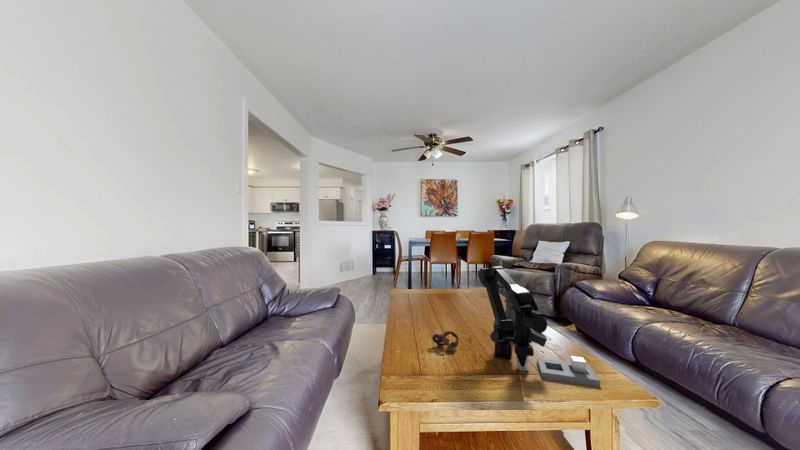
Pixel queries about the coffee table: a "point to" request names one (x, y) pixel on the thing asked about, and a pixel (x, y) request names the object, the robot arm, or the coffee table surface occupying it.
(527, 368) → the billet
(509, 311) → the candle holder
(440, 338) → the brown looped piece
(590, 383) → the pallet
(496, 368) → the coffee table surface
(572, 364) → the block
